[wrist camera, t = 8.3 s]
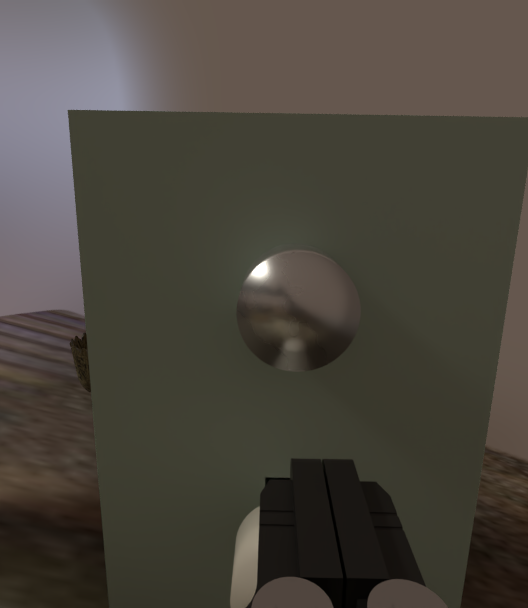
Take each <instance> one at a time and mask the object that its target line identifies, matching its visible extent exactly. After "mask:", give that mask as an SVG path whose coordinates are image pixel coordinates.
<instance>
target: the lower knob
mask: <svg viewBox="0 0 528 608" xmlns="http://www.w3.org/2000/svg"><path fill="white" fill-rule="evenodd" d="M277 480H290V478H279V479H277ZM259 514H260V506H259V507H257V508H256V509H254V510H253V511H252V512H250V513H249V514H248V515H247V516H246V518H245V519H244V520H243V522H242V523H241V525H240V527H239V529H238V532H237V536H236V544H235V555H234V565H233V575H232V585H231V596H230V606H231V608H246V607H247V606H248V604H249V603H250V602H251V600H252V598H253V596H254V594H255V591H256V586H257V569H258V541H259Z"/></svg>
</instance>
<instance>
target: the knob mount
mask: <svg viewBox="0 0 528 608" xmlns="http://www.w3.org/2000/svg"><path fill="white" fill-rule="evenodd" d="M68 118H69V130H70V142H71V154H72V166H73V178H74V190H75V202H76V215H77V226H78V239H79V250H80V262H81V275H82V287H83V299H84V311H85V323H86V335H87V347H88V359H89V371H90V383H91V395H92V407H93V419H94V432H95V444H96V456H97V468H98V480H99V492H100V504H101V516H102V528H103V540H104V552H105V564H106V576H107V588H108V600H109V608H231V606H230V596H231V585H232V575H233V565H234V555H235V544H236V536H237V532H238V529H239V527H240V525H241V523H242V522H243V520H244V519H245V518H246V516H247V515H248V514H249V513H250V512H252V511H253V510H254V509H256V508H257V507H259V506H260V493H261V492H262V490H263V489H264V487H265V486H266V484H267V483H268V481H269V480H277V479H279V478H290V462H291V458H300V459H321V462H322V459H352V460H353V461H354V464H355V467H356V471H357V474H358V477H359V480H360V481H374V482H377V483H378V484H379V485H380V486H381V487H382V488H383V489H384V490H385V491H386V492H387V493H388V494H389V495H390V496H391V499H392V501H393V504H394V506H395V509H396V511H397V516H398V517H399V519H400V522H401V524H402V527H403V530H404V532H405V534H406V537H407V539H408V542H409V544H410V547H411V549H412V552H413V555H414V557H415V560H416V562H417V565H418V567H419V570H420V572H421V575H422V577H423V580H424V582H425V585H426V587H427V588H428V589H430V590H431V591H433V592H434V593H435V594H437V595H438V596H439V597H440V598H441V599H442V600H443V602H444V603H445V604H446V605H447V607H448V608H460V606H461V600H462V593H463V587H464V580H465V574H466V567H467V561H468V554H469V548H470V541H471V535H472V528H473V522H474V515H475V509H476V502H477V496H478V489H479V483H480V476H481V470H482V463H483V457H484V450H485V444H486V437H487V431H488V423H489V417H490V411H491V404H492V398H493V391H494V384H495V378H496V372H497V365H498V359H499V352H500V346H501V339H502V333H503V326H504V320H505V313H506V307H507V300H508V294H509V287H510V281H511V274H512V268H513V261H514V254H515V248H516V242H517V235H518V229H519V222H520V215H521V209H522V203H523V196H524V189H525V183H526V177H527V170H528V117H469V116H465V117H464V116H409V115H408V116H407V115H404V116H403V115H347V114H344V115H343V114H342V115H341V114H284V113H224V112H221V113H220V112H162V111H160V112H159V111H102V110H101V111H98V110H97V111H96V110H68ZM289 243H301V244H307V245H311V246H314V247H317V248H319V249H321V250H323V251H324V252H326V253H327V254H329V255H330V256H331V257H332V258H333V259H334V260H335V261H336V262H337V263H338V264H339V265H340V266H341V268H342V269H343V270H344V271H345V272H346V273H347V274H348V276H349V277H350V278H351V280H352V282H353V283H354V285H355V287H356V290H357V292H358V296H359V299H360V307H361V316H360V323H359V326H358V330H357V332H356V335H355V337H354V339H353V341H352V342H351V344H350V345H349V347H348V348H347V349H346V350H345V351H344V352H343V353H342V354H341V355H340V356H339V357H338V358H337V359H335V360H334V361H332V362H331V363H329V364H327V365H325V366H323V367H321V368H318V369H314V370H310V371H302V372H293V371H286V370H281V369H278V368H275V367H272V366H270V365H268V364H266V363H265V362H263V361H262V360H260V359H259V358H258V357H257V356H255V355H254V354H253V353H252V351H251V350H250V349H249V348H248V347H247V345H246V344H245V342H244V340H243V338H242V336H241V334H240V331H239V328H238V323H237V314H236V311H237V302H238V297H239V294H240V291H241V287H242V284H243V281H244V278H245V275H246V273H247V271H248V269H249V268H250V266H251V265H252V264H253V263H254V261H255V260H256V259H257V258H258V257H260V256H261V255H262V254H263V253H265V252H266V251H268V250H270V249H272V248H274V247H277V246H280V245H283V244H289Z"/></svg>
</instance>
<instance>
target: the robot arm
mask: <svg viewBox="0 0 528 608" xmlns="http://www.w3.org/2000/svg"><path fill="white" fill-rule="evenodd" d="M246 608H448V607H447V605H446V604H445V603H444V602H443V600H442V599H441V598H440V597H439V596H438V595H437V594H435V593H434V592H433V591H431V590H430V589H428V588H427V587H426V585H425V582H424V580H423V577H422V575H421V572H420V570H419V567H418V565H417V562H416V560H415V557H414V555H413V552H412V549H411V547H410V544H409V542H408V539H407V537H406V534H405V532H404V530H403V527H402V524H401V522H400V519H399V517H398V516H397V511H396V509H395V506H394V504H393V501H392V499H391V496H390V495H389V494H388V493H387V492H386V491H385V490H384V489H383V488H382V487H381V486H380V485H379V484H378V483H377V482H374V481H360V480H359V477H358V474H357V471H356V467H355V464H354V461H353V460H352V459H322V462H321V459H300V458H291V462H290V480H269V481H268V483H267V484H266V486H265V487H264V489H263V490H262V492H261V493H260V514H259V541H258V569H257V586H256V591H255V594H254V596H253V598H252V600H251V602H250V603H249V604H248V606H247V607H246Z"/></svg>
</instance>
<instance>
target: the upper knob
mask: <svg viewBox="0 0 528 608" xmlns="http://www.w3.org/2000/svg"><path fill="white" fill-rule="evenodd" d="M236 314H237V323H238V328H239V331H240V334H241V336H242V338H243V340H244V342H245V344H246V345H247V347H248V348H249V349H250V350H251V351H252V353H253V354H254V355H255V356H257V357H258V358H259V359H260V360H262V361H263V362H265V363H266V364H268V365H270V366H272V367H275V368H278V369H281V370H286V371H293V372H302V371H310V370H314V369H318V368H321V367H323V366H325V365H327V364H329V363H331V362H332V361H334V360H335V359H337V358H338V357H339V356H340V355H341V354H342V353H343V352H344V351H345V350H346V349H347V348H348V347H349V345H350V344H351V342H352V341H353V339H354V337H355V335H356V332H357V330H358V326H359V323H360V316H361V307H360V299H359V296H358V292H357V290H356V287H355V285H354V283H353V282H352V280H351V278H350V277H349V276H348V274H347V273H346V272H345V271H344V270H343V269H342V268H341V266H340V265H339V264H338V263H337V262H336V261H335V260H334V259H333V258H332V257H331V256H330V255H329V254H327V253H326V252H324V251H323V250H321V249H319V248H317V247H314V246H311V245H307V244H301V243H289V244H283V245H280V246H277V247H274V248H272V249H270V250H268V251H266V252H265V253H263V254H262V255H261V256H260V257H258V258H257V259H256V260H255V261H254V263H253V264H252V265H251V266H250V268H249V269H248V271H247V273H246V275H245V278H244V281H243V284H242V287H241V291H240V294H239V297H238V302H237V311H236Z"/></svg>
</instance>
